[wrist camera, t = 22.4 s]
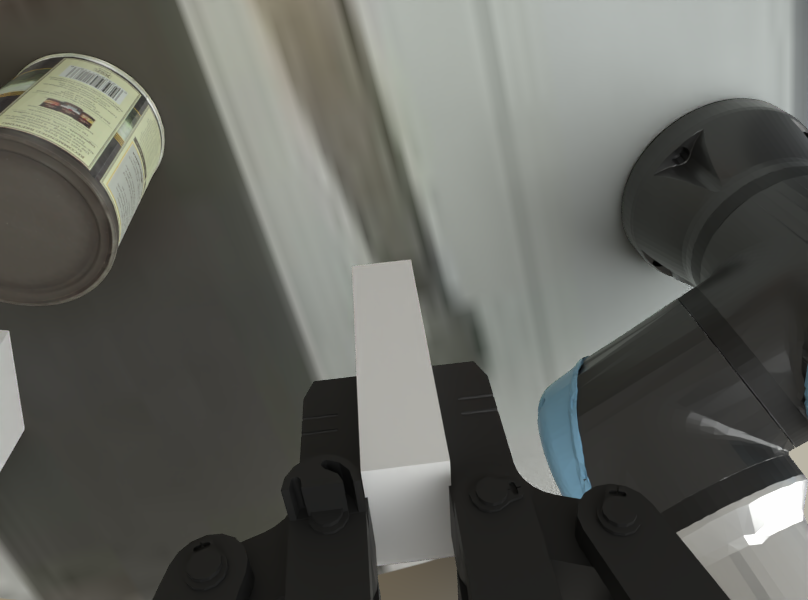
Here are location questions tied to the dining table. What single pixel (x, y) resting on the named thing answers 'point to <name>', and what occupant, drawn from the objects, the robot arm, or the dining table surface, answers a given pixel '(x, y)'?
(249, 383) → the dining table surface
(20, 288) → the coffee can
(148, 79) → the dining table surface
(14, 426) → the milk
